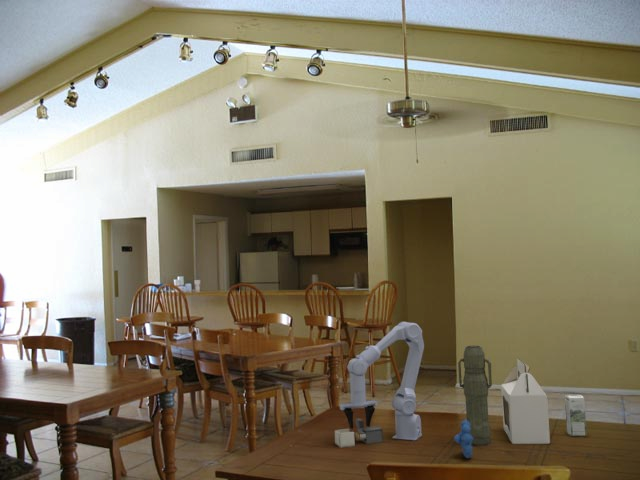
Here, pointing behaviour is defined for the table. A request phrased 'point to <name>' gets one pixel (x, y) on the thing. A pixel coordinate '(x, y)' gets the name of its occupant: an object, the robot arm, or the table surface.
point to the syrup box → (575, 415)
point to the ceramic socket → (344, 438)
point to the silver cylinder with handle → (360, 430)
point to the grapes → (465, 439)
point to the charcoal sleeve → (373, 434)
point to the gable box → (524, 407)
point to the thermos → (476, 393)
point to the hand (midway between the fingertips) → (359, 427)
